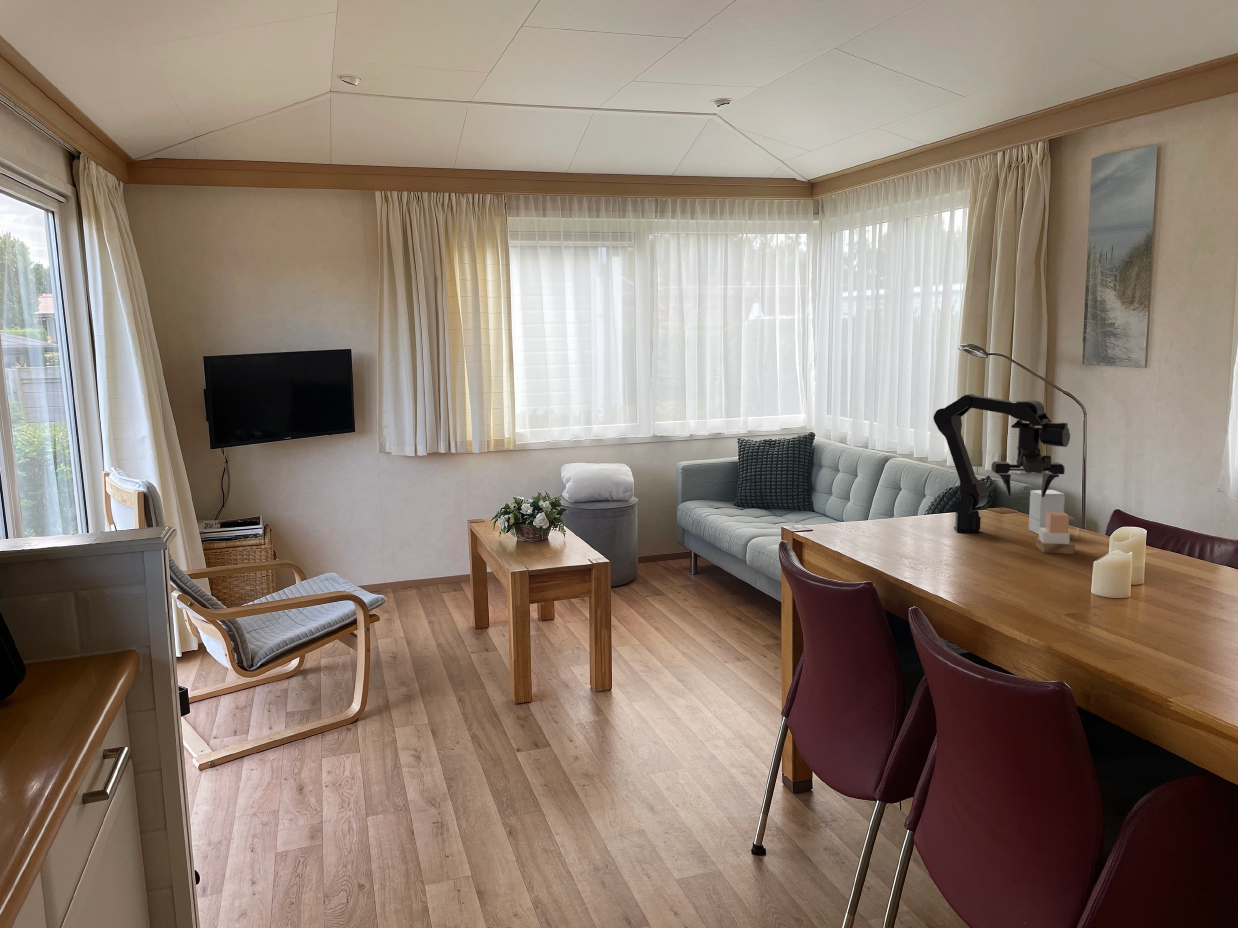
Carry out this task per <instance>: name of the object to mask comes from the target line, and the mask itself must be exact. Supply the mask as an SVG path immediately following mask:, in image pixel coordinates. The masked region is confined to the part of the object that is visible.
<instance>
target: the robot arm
mask: <svg viewBox="0 0 1238 928" xmlns="http://www.w3.org/2000/svg"><path fill="white" fill-rule="evenodd" d="M972 409H976V410H981V411H987V412H992V413H993V412H995V413H1000V414H1004V415H1008V416H1010V417H1012V418H1013V419H1017V420H1016V422H1015V423H1013V424H1012V425H1010V427H1011V428H1012V429H1018V437H1017V447H1016V449H1017V453H1016V454H1017V455H1016V456H1017V457H1016V458H1017V459H1016V461H1015V463H1016V464H1014V463H1013V464H1012V463H1009V462H1008V461H1001V460H999V461H998V460H997V461H996V460H995V461H993V462H992V463H991V471H992V472H993V473H994V474H996V475H998V476H999V477H1000V478H1001V480H1002V483H1003V485H1004V487H1005V491H1006V494H1007V496H1008V497H1011V494H1012V493H1011V490H1012V489H1011V477H1012V475H1011V474H1010V472H1013V471H1016V472H1017V471H1019V472H1020V471H1021V472H1025V473H1027V474H1031V473H1038V474H1042V480H1041V481H1042V482H1041V489H1040V490H1041V497H1044V496H1045V494H1046V491H1047V490H1049V487H1050V485H1051V483H1052V482H1053V481H1054V480H1055V478H1059V477H1060V475H1065V471H1066V470H1065V465H1064V464H1062V463H1060V462H1059V461H1052V457H1051V455H1041V448H1040V443H1042V444H1043V445H1044V446H1049V447H1058V448H1059V447H1062V448H1066V447H1068V446H1069V445H1070V440H1071V433H1070V428H1069V427H1068V422H1052V420H1051V419H1050V418H1049V416H1048V414H1047V413H1046V412H1045V406H1044V404H1043V403H1042V402H1040V400H1008V399H1007V400H1006V399H1000V398H993V397H989V396H983V395H982V396H981V395H976V394H974V393H969V394H964V395H962V396H960V398H958V399H957V400H955V401H954V402H952V403H950V404H949V405H947V406H946V407H943V408H939V409H937V410H935V412H934V414H933V421H934V424H935V425H936V428H937V430H938V431H939V432H940V434H941V435H943V436H944V437H945V440H946V444H947V446H948V449H949V453H950V455H951V459H952V461H953V464H954V467H955V470H956V472H957V476H958V479H959V491H958V493H959V499H958V501H956V502H955V503H954V504H953V505H952V506H951V507H952V509H953V513H955V519H954V520H955V522H954V526H953V529H954V530H955V532H957V533H967V534H970V533H971V534H973V533H975V534H980V530H981V520H982V519H981V516H980V512H979V511H981V510H982V507H983V506H985V505H986V504H987V502H988V500H989V494H990V491H989V490H988V489H987V484H986V482H985V480H983V481H980V480H979V479H978V478H977V476H976V474H975V471H974V468H973V465H972V462H971V459H970V456H969V454H968V450H967V447H966V443H965V442H964V438H963V434H962V427H963V421H962V417H963V416H964V415H966V414H967V413H968V412H969V411H970V410H972Z"/></svg>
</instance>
